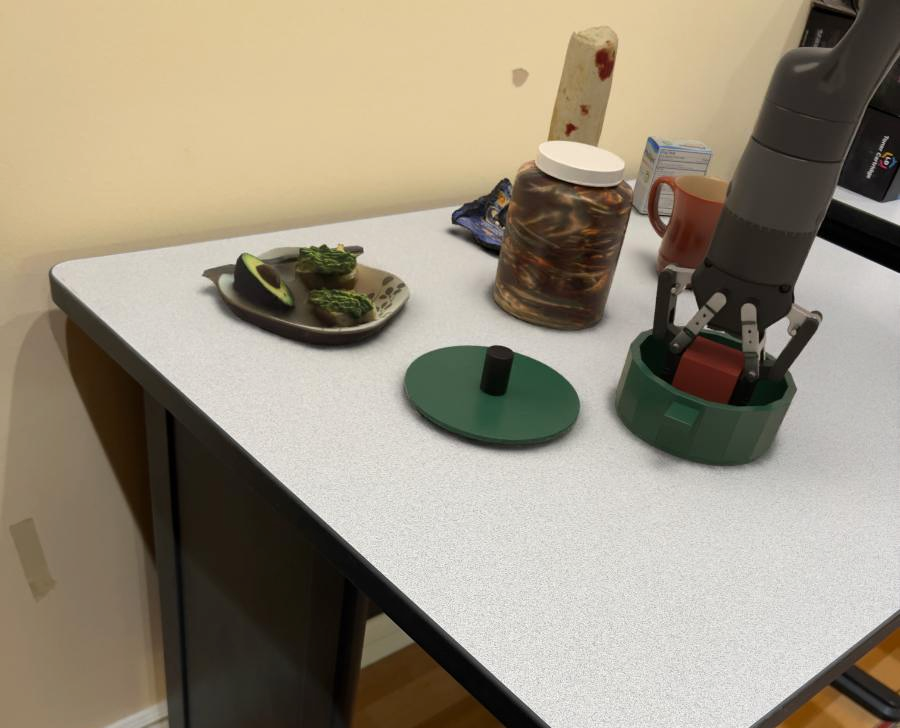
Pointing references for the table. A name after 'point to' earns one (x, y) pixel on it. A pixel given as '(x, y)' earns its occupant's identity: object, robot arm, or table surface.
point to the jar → (563, 236)
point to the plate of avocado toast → (310, 293)
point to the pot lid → (492, 394)
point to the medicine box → (668, 168)
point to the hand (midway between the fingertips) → (700, 399)
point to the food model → (584, 86)
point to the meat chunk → (709, 371)
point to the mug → (687, 218)
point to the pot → (697, 408)
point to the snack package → (486, 215)
